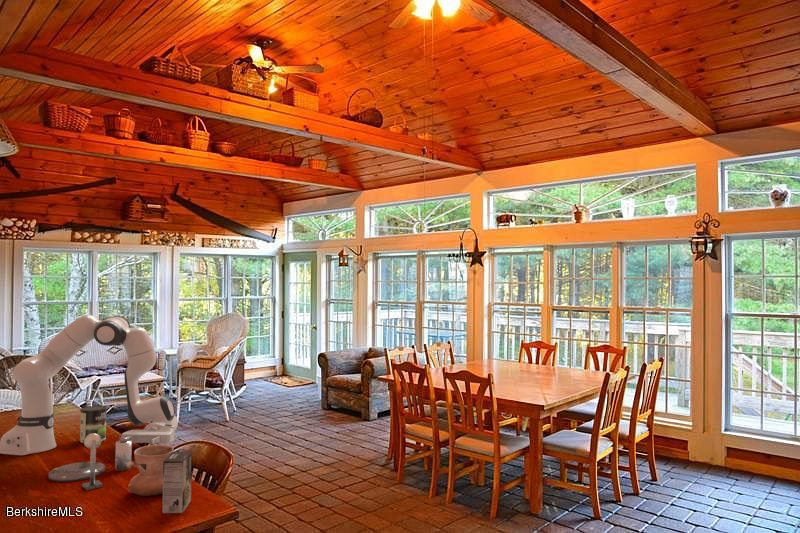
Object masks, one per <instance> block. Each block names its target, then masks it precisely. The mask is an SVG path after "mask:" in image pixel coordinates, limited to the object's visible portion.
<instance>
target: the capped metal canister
mask: <svg viewBox="0 0 800 533" xmlns="http://www.w3.org/2000/svg"><path fill="white" fill-rule="evenodd" d="M132 450H133V443H132V440H128V437H119V439H118V441H115V459H114V461H115V462H114V465H115V466H114V471H116V472H117V471H119V472H121V471H122V472H123V471H129V470H130V469H132V466H130V467H127V465H126V464H127V463H128V462H131V461H132V453H133V451H132Z"/></svg>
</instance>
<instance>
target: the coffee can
mask: <svg viewBox="0 0 800 533" xmlns="http://www.w3.org/2000/svg"><path fill="white" fill-rule="evenodd" d="M107 409H108V407H107V406H106V405H90V406H84V407H82V408H80V409H79V410H80V426H79V427H80V429H79V432H80V434H79V442H80V443H82V444H84V440H85V438H86V437H87V436H88V435H89V434H92V433H96V434H98V435H99V436H100V437H101V439H102V441H105V440H106V439H107Z"/></svg>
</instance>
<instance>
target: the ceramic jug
mask: <svg viewBox="0 0 800 533" xmlns="http://www.w3.org/2000/svg"><path fill="white" fill-rule="evenodd" d="M174 450H175V449H174V447H173V446H172V445H168V444H149V445H144V446H141V447H138V448H136V449H135V450H134V451H133V454H134V457H133V458H134V461H133V460H131V462H128V463H127V464H126V465H127V467H130V466H131V467H135V468H137V470H138V471H139V472H138V473H137V474H136V475H134V476H133V477H132V478H131V479H130V481H129V483H128V485H127V489H128V490H129V491H130V492H131V493H132V494H135V495H137V496H141V497H152V496H153V497H154V496H158V495H161V494H162V495H163V461H164V460H165V459H166V458H167V457H168V456H169V455H170V454H171V453H172V452H174Z"/></svg>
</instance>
